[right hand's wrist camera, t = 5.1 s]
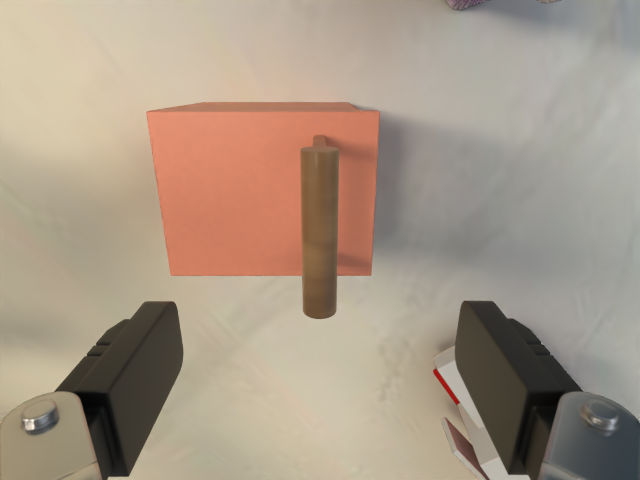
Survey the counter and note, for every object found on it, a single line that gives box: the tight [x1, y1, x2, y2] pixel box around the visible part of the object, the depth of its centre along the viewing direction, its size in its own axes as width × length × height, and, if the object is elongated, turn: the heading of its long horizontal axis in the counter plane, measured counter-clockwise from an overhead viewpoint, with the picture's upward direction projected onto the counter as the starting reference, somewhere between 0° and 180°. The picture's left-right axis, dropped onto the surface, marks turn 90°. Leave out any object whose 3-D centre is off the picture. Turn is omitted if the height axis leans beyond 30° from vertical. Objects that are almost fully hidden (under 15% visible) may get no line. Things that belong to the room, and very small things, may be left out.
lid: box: [147, 110, 380, 319], centre depth 21 cm, size 13×10×8 cm
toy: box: [433, 345, 530, 480], centre depth 41 cm, size 12×13×30 cm
